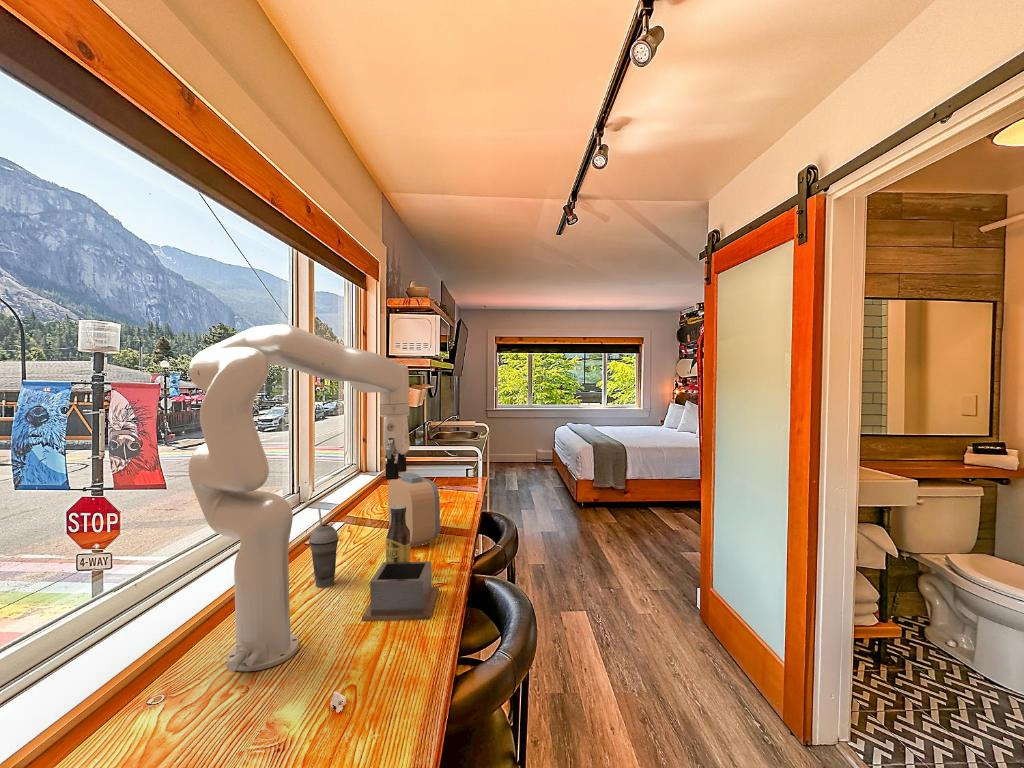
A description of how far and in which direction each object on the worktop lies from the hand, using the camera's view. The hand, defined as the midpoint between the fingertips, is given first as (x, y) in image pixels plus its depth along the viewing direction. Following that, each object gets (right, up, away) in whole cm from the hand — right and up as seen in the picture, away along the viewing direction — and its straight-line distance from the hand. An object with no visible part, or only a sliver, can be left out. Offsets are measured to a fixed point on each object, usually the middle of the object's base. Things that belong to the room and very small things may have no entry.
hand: (396, 475), depth 132 cm
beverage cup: (-19, -29, -1) cm, 34 cm away
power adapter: (+3, -29, -50) cm, 58 cm away
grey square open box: (+5, -28, -14) cm, 32 cm away
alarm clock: (-2, -28, +33) cm, 43 cm away
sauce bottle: (0, -28, 0) cm, 28 cm away
